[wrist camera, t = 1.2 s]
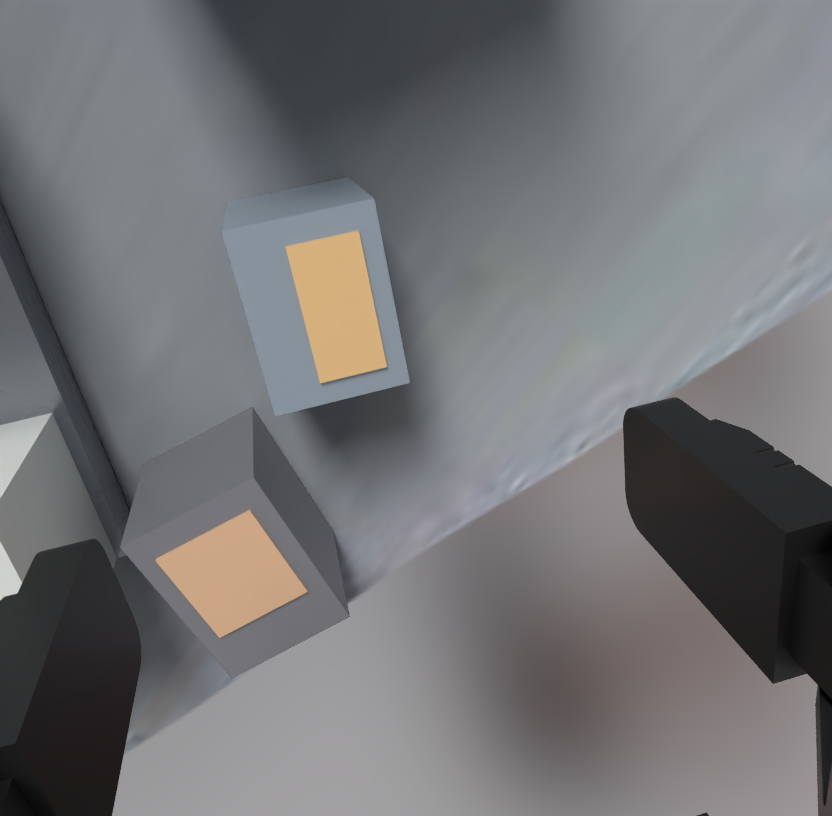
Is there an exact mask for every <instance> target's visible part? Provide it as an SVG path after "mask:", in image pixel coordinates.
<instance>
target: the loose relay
mask: <svg viewBox="0 0 832 816" xmlns="http://www.w3.org/2000/svg"><path fill="white" fill-rule="evenodd" d="M120 548H121V549H122V550H123V552H124V553H125V554H126V555H127V556H128V557H129V559H130V560H131V561H132V562H133V563H134V564H135V566H136V567H137V568H138V569H139V570H140V571H141V573H142V574H143V575H144V576H145V577H146V578H147V580H148V581H149V582H150V583H151V584H152V585H153V587H154V588H155V589H156V590H157V591H158V593H159V594H160V595H161V596H162V597H163V598H164V600H165V601H166V602H167V603H168V604H169V605H170V607H171V608H172V609H173V610H174V611H175V612H176V614H177V615H178V616H179V617H180V618H181V619H182V621H183V622H184V623H185V624H186V625H187V626H188V628H189V629H190V630H191V631H192V632H193V634H194V635H195V636H196V637H197V638H198V639H199V641H200V642H201V643H202V644H203V645H204V646H205V648H206V649H207V650H208V651H209V652H210V653H211V655H212V656H213V657H214V658H215V659H216V660H217V662H218V663H219V664H220V665H221V666H222V667H223V669H224V670H225V671H226V672H227V673H228V675H229V676H230V677H231V678H234V677H236V676H237V675H239V674H241V673H243V672H245V671H247V670H249V669H251V668H253V667H255V666H257V665H258V664H260V663H262V662H264V661H266V660H268V659H270V658H272V657H274V656H275V655H277V654H279V653H281V652H283V651H285V650H287V649H289V648H291V647H293V646H294V645H296V644H298V643H300V642H302V641H304V640H306V639H308V638H310V637H311V636H313V635H316V634H317V633H319V632H321V631H323V630H325V629H327V628H329V627H331V626H333V625H335V624H336V623H338V622H340V621H342V620H344V619H346V618H348V617H349V611H348V606H347V600H346V595H345V590H344V585H343V580H342V575H341V569H340V564H339V559H338V554H337V549H336V544H335V538H334V533H333V529H332V528H331V526H330V525H329V523H328V522H327V520H326V519H325V517H324V516H323V514H322V513H321V511H320V510H319V508H318V506H317V505H316V503H315V502H314V500H313V499H312V497H311V496H310V494H309V493H308V491H307V490H306V488H305V487H304V485H303V483H302V482H301V480H300V479H299V477H298V476H297V474H296V473H295V471H294V470H293V468H292V467H291V465H290V464H289V462H288V461H287V459H286V457H285V456H284V454H283V453H282V451H281V450H280V448H279V447H278V445H277V444H276V442H275V441H274V439H273V438H272V436H271V434H270V433H269V431H268V430H267V428H266V427H265V425H264V424H263V422H262V421H261V419H260V418H259V416H258V415H257V413H256V411H255V410H254V408H253V407H251V408H249V409H248V410H246V411H244V412H242V413H240V414H238V415H236V416H234V417H232V418H230V419H228V420H227V421H225V422H223V423H221V424H219V425H217V426H215V427H213V428H211V429H209V430H207V431H206V432H204V433H202V434H200V435H198V436H196V437H194V438H192V439H190V440H188V441H186V442H185V443H183V444H181V445H179V446H177V447H175V448H173V449H171V450H169V451H167V452H165V453H164V454H162V455H160V456H158V457H156V458H154V459H152V460H150V461H148V462H146V463H144V464H143V467H142V471H141V474H140V478H139V482H138V485H137V489H136V492H135V496H134V499H133V503H132V507H131V510H130V514H129V517H128V521H127V524H126V528H125V532H124V535H123V539H122V542H121V546H120Z"/></svg>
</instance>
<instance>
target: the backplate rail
mask: <svg viewBox="0 0 832 816" xmlns="http://www.w3.org/2000/svg"><path fill="white" fill-rule="evenodd" d="M49 413H53V415H54V418H55V420H56V422H57V424H58V427H59V429H60V431H61V433H62V436H63V438H64V440H65V442H66V445H67V447H68V449H69V451H70V454H71V456H72V458H73V460H74V463H75V465H76V467H77V469H78V472H79V474H80V476H81V478H82V481H83V483H84V485H85V487H86V490H87V492H88V494H89V496H90V499H91V501H92V503H93V505H94V508H95V510H96V512H97V514H98V517H99V519H100V521H101V523H102V526H103V528H104V530H105V532H106V535H107V537H108V539H109V541H110V544H111V546H112V548H113V550H114V553H115V555H116V557H117V558H119V557H123V556H127V555H126V554H125V553H124V552H123V550H122V549H121V548H120V546H121V542H122V539H123V535H124V532H125V528H126V524H127V521H128V517H129V514H130V510H129V507H128V505H127V502H126V500H125V498H124V495H123V493H122V491H121V488H120V486H119V483H118V481H117V479H116V476H115V474H114V471H113V469H112V467H111V464H110V462H109V459H108V457H107V455H106V452H105V450H104V448H103V445H102V443H101V440H100V438H99V436H98V433H97V431H96V428H95V426H94V424H93V421H92V419H91V417H90V414H89V412H88V409H87V407H86V405H85V402H84V400H83V397H82V395H81V393H80V390H79V388H78V386H77V383H76V381H75V378H74V376H73V374H72V371H71V369H70V366H69V364H68V362H67V359H66V357H65V354H64V352H63V350H62V347H61V345H60V343H59V340H58V338H57V335H56V333H55V331H54V328H53V326H52V323H51V321H50V319H49V316H48V314H47V312H46V309H45V307H44V304H43V302H42V300H41V297H40V295H39V292H38V290H37V288H36V285H35V283H34V281H33V278H32V276H31V273H30V271H29V269H28V266H27V264H26V261H25V259H24V257H23V254H22V252H21V249H20V247H19V245H18V242H17V240H16V238H15V235H14V233H13V230H12V228H11V226H10V223H9V221H8V218H7V216H6V214H5V211H4V209H3V207H2V204H1V202H0V425H3V424H7V423H12V422H16V421H20V420H24V419H28V418H33V417H37V416H41V415H45V414H49Z"/></svg>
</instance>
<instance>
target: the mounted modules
mask: <svg viewBox="0 0 832 816" xmlns="http://www.w3.org/2000/svg"><path fill="white" fill-rule="evenodd" d="M89 539H96V540H98V541H99V542H100V543H101V545H102V546H103V548H104V550H105V552H106V554H107V556H108V559H109V561H110V563H111V566H112V568H113V570H114V567H115V563H116V560H117V557H116V555H115V553H114V550H113V548H112V546H111V544H110V541H109V539H108V537H107V535H106V532H105V530H104V528H103V526H102V523H101V521H100V519H99V517H98V514H97V512H96V510H95V508H94V505H93V503H92V501H91V499H90V496H89V494H88V492H87V490H86V487H85V485H84V483H83V481H82V478H81V476H80V474H79V472H78V469H77V467H76V465H75V463H74V460H73V458H72V456H71V454H70V451H69V449H68V447H67V445H66V442H65V440H64V438H63V436H62V433H61V431H60V429H59V427H58V424H57V422H56V420H55V418H54V415H53V413H49V414H45V415H41V416H37V417H33V418H28V419H24V420H20V421H16V422H12V423H7V424H3V425H0V600H1V599H2V598H3V597H5V596H9V595H13V594H17V593H18V591H19V589H20V587H21V585H22V582H23V580H24V578H25V576H26V574H27V572H28V569H29V567H30V565H31V563H32V561H33V559H34V557H35V555H36V554H37V553H38V552H40V551H44V550H49V549H53V548H57V547H61V546H65V545H69V544H73V543H77V542H81V541H85V540H89Z"/></svg>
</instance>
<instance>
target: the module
mask: <svg viewBox="0 0 832 816" xmlns="http://www.w3.org/2000/svg"><path fill="white" fill-rule="evenodd" d="M221 232H222V235H223V239H224V242H225V246H226V249H227V253H228V256H229V259H230V263H231V266H232V270H233V273H234V277H235V280H236V284H237V287H238V290H239V294H240V297H241V301H242V304H243V308H244V311H245V314H246V318H247V321H248V325H249V328H250V332H251V335H252V338H253V342H254V345H255V349H256V352H257V356H258V359H259V362H260V366H261V369H262V373H263V376H264V380H265V383H266V386H267V390H268V393H269V397H270V400H271V404H272V407H273V410H274V414H275V416H279V415H283V414H287V413H291V412H295V411H299V410H303V409H307V408H311V407H315V406H319V405H323V404H327V403H331V402H335V401H339V400H343V399H347V398H351V397H355V396H359V395H363V394H367V393H371V392H376V391H380V390H384V389H388V388H392V387H396V386H400V385H404V384H408V383H410V380H409V375H408V370H407V365H406V360H405V355H404V349H403V344H402V339H401V334H400V329H399V324H398V319H397V313H396V308H395V303H394V298H393V293H392V288H391V282H390V277H389V272H388V267H387V262H386V257H385V251H384V246H383V241H382V236H381V231H380V226H379V220H378V215H377V210H376V205H375V200H374V198H373V197H372V196H371V195H370V194H368V193H367V192H366V191H365V190H364V189H363V188H361V187H360V186H359V185H358V184H357V183H356V182H354V181H353V180H352V179H351V178H350V177H344V178H340V179H335V180H330V181H325V182H321V183H316V184H311V185H306V186H302V187H297V188H292V189H287V190H283V191H278V192H273V193H268V194H264V195H259V196H254V197H250V198H245V199H240V200H235V201H231V202H227V204H226V209H225V215H224V220H223V225H222V231H221Z"/></svg>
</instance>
